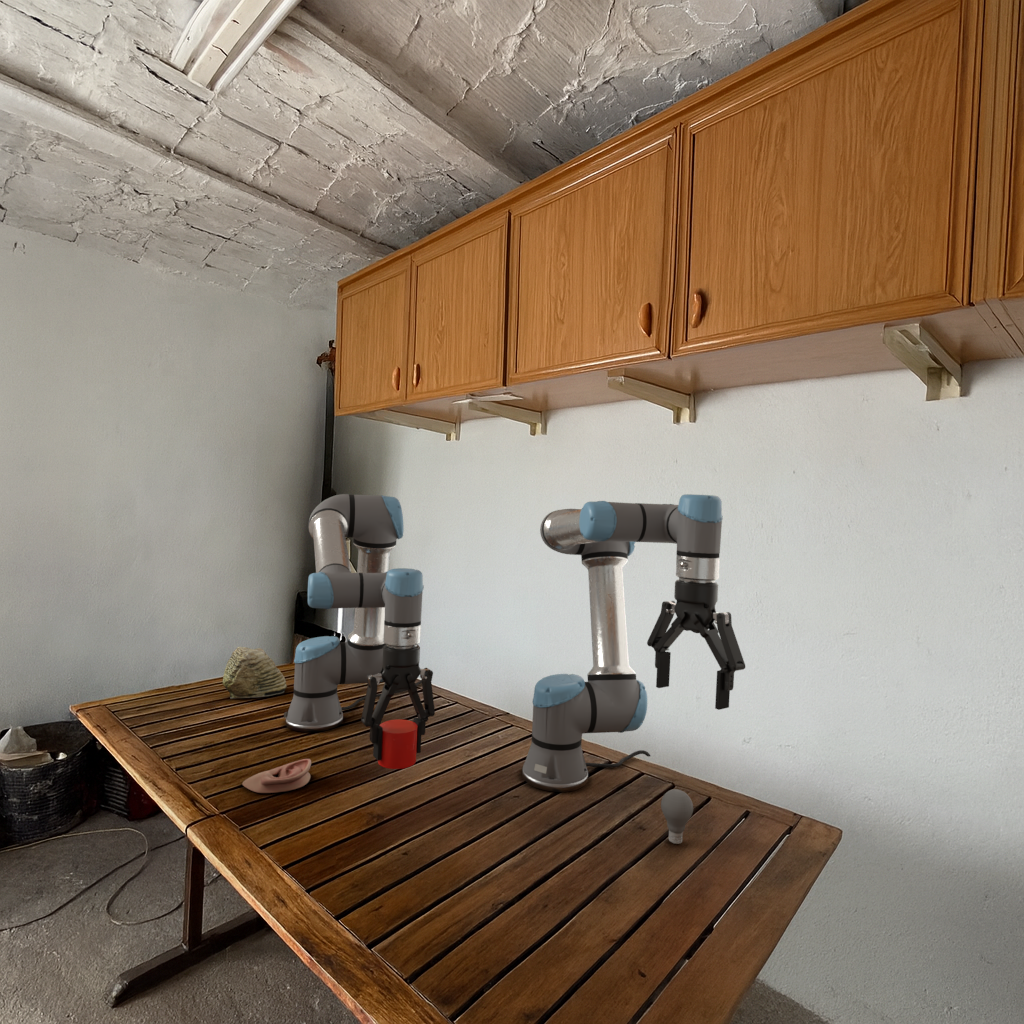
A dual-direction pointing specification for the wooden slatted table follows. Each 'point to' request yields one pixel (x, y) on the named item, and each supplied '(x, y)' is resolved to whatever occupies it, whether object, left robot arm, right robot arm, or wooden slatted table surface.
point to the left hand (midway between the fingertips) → (397, 754)
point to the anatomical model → (280, 778)
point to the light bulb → (676, 813)
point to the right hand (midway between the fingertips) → (690, 697)
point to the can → (398, 744)
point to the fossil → (252, 674)
